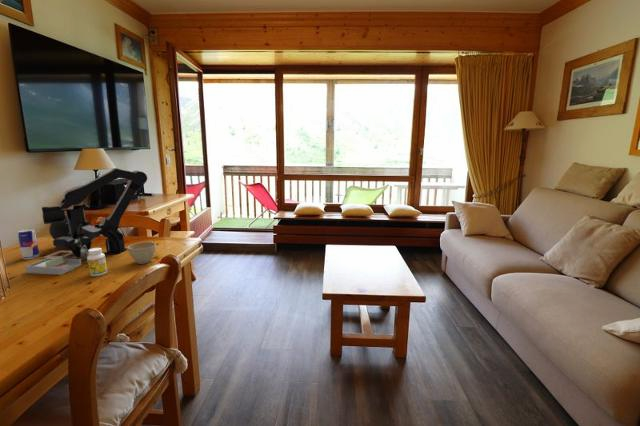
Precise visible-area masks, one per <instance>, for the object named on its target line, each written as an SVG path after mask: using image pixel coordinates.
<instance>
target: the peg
mask: <svg viewBox="0 0 640 426" xmlns="http://www.w3.org/2000/svg"><path fill="white" fill-rule="evenodd" d="M79 250H80V258H77V259H81V260H87V257H88V256H89V254H88V251H87V246H86V244H83V245H79Z"/></svg>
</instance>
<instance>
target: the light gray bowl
mask: <svg viewBox="0 0 640 426" xmlns="http://www.w3.org/2000/svg"><path fill="white" fill-rule="evenodd" d="M156 247H157V246H156V243H155V242H153V241H141V242H140V241H139V242H137V243H132V244H130V245H128V246H127V248H128V249H127V250H128V253H129V255H130V257H131V258H132V259H133V261H134V262H135V263H136V264H139V265H141V264H148V263H151V261H152V259H153V258H154V255H155V252H156Z"/></svg>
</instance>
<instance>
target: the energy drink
mask: <svg viewBox="0 0 640 426" xmlns="http://www.w3.org/2000/svg"><path fill="white" fill-rule="evenodd" d="M16 234H17V238H18V243H19V248H20V253H21V257H22V259H23V260H33V259H37V258H39V257H40V250H39V245H38V241H37V240H38V239H37V237H36V231H35V230H34V228H24V229H20V230H17V233H16Z"/></svg>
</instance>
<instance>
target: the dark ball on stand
mask: <svg viewBox="0 0 640 426" xmlns="http://www.w3.org/2000/svg"><path fill="white" fill-rule="evenodd" d="M65 218H66V219H64V220H62V222H58V223H50V225H49V227H48V228H49V230H48V231H49V234H50V236H51V238H52V239H53V240H54V239H56V238H60V237H71V236H68V233H70V229H69V226H66V223H68V218H67V214H65ZM78 242H81V241H80V239H78ZM80 245H82V244H80ZM54 247H55V250H56V251H71V250H70V249H69V248H68V247H62V246H54Z"/></svg>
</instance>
